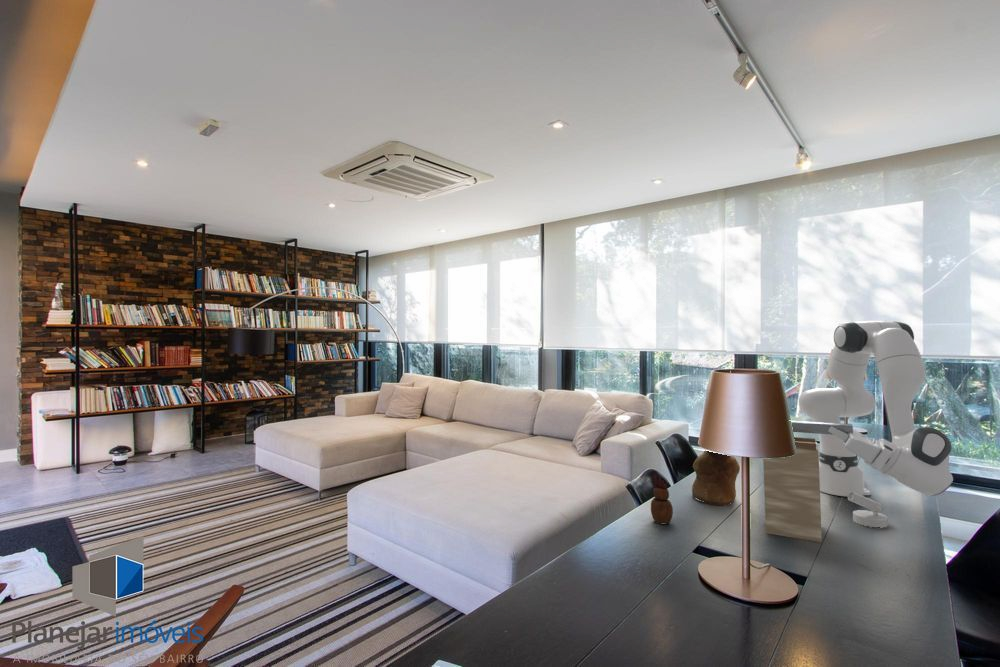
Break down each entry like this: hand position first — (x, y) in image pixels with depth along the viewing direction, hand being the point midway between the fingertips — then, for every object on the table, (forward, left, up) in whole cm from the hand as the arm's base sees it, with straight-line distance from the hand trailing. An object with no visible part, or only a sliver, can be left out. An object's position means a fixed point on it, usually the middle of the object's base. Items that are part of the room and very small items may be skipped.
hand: (828, 427), depth 144 cm
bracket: (0, -4, -2) cm, 5 cm away
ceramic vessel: (-12, -33, -32) cm, 47 cm away
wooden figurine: (+17, -46, -32) cm, 58 cm away
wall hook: (-13, +10, -32) cm, 36 cm away
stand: (+4, -10, -31) cm, 33 cm away
